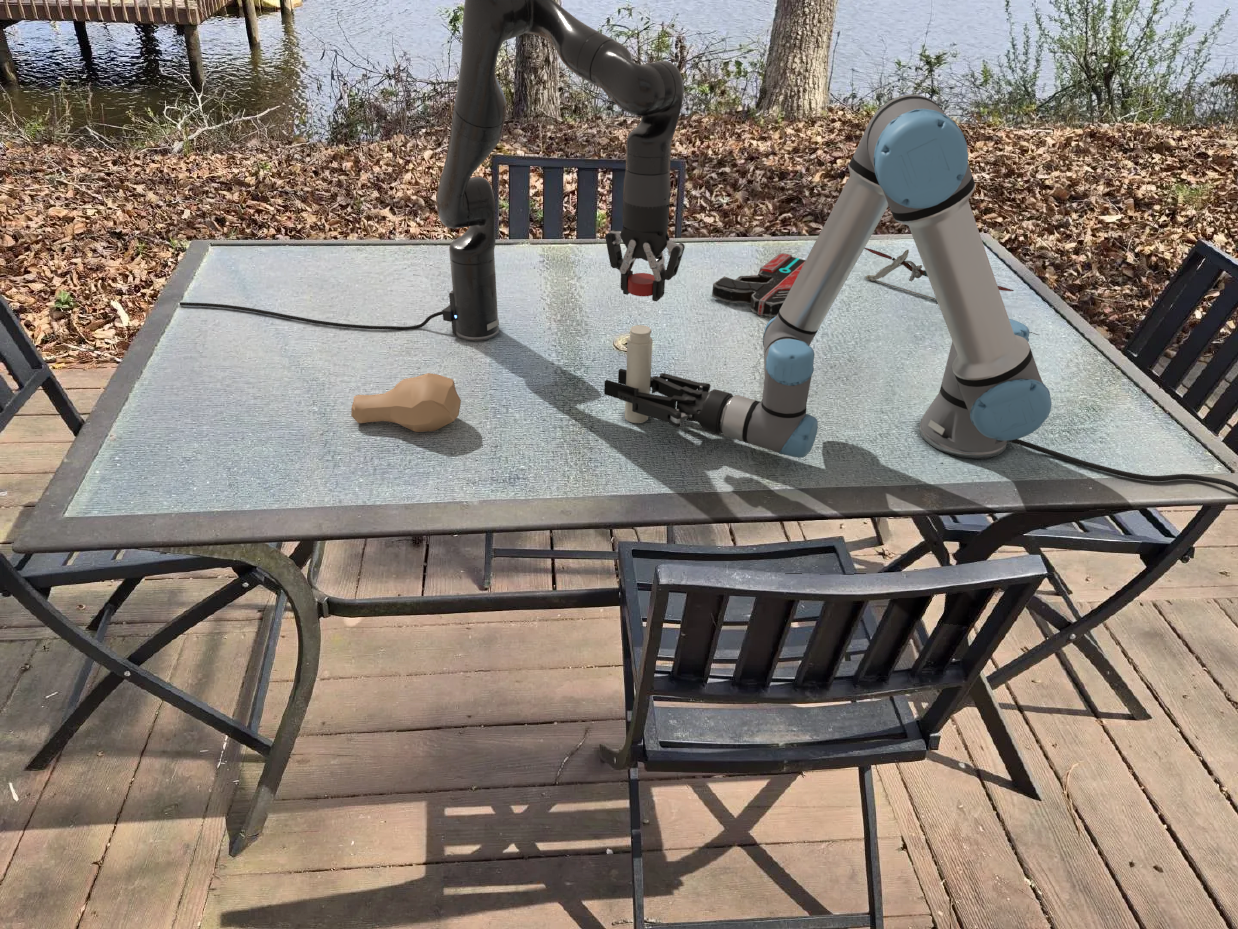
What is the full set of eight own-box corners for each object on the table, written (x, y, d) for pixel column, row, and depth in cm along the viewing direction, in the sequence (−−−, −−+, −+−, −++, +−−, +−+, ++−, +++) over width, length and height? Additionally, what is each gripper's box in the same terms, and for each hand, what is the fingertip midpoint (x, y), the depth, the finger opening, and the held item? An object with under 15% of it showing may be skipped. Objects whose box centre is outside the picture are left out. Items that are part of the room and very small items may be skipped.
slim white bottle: (633, 425, 161) (637, 336, 152) (620, 415, 165) (622, 327, 155) (653, 419, 164) (658, 331, 154) (639, 409, 167) (643, 321, 157)
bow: (1006, 319, 205) (1018, 279, 199) (1003, 322, 204) (1015, 281, 198) (860, 274, 226) (867, 237, 221) (856, 276, 225) (863, 238, 220)
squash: (461, 438, 156) (449, 399, 150) (353, 447, 158) (336, 409, 152) (469, 400, 164) (458, 361, 158) (366, 408, 166) (350, 370, 160)
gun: (708, 284, 207) (784, 305, 199) (760, 245, 229) (831, 262, 221) (706, 302, 209) (781, 323, 201) (758, 261, 231) (828, 278, 223)
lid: (647, 283, 153) (648, 270, 152) (662, 293, 149) (663, 281, 148) (622, 287, 151) (622, 275, 150) (636, 298, 147) (637, 286, 146)
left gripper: (596, 196, 141) (595, 295, 150) (677, 211, 136) (671, 313, 145) (617, 184, 146) (615, 280, 156) (696, 198, 141) (689, 297, 151)
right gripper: (705, 456, 149) (587, 419, 158) (745, 411, 162) (634, 380, 171) (708, 418, 145) (588, 382, 154) (749, 375, 158) (635, 345, 167)
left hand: (642, 295), depth 151 cm, fingers closed on lid, 5 cm apart
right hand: (612, 381), depth 163 cm, fingers closed on slim white bottle, 4 cm apart
